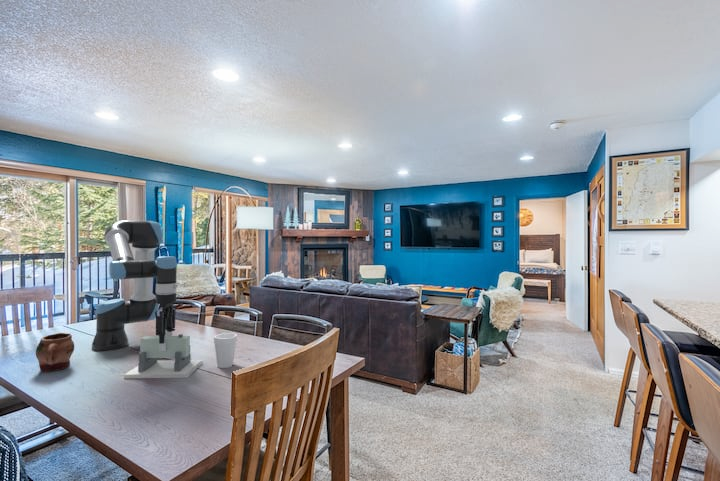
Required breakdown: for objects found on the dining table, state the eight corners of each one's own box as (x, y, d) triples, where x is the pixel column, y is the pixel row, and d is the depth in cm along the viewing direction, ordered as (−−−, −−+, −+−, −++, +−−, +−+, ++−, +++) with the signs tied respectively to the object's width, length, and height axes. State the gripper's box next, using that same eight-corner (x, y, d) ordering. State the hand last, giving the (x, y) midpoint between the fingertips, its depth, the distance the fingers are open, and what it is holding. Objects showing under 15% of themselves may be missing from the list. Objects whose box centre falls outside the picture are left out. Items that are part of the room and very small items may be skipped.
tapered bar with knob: (145, 355, 148) (145, 333, 148) (189, 354, 149) (189, 333, 149) (140, 358, 144) (140, 336, 144) (185, 357, 145) (186, 335, 145)
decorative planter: (72, 373, 142) (72, 339, 142) (31, 380, 135) (31, 344, 135) (75, 359, 158) (76, 328, 158) (39, 364, 151) (39, 332, 151)
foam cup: (241, 363, 156) (241, 334, 156) (226, 370, 147) (227, 339, 147) (223, 360, 159) (224, 332, 159) (208, 367, 150) (209, 337, 150)
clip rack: (146, 363, 154) (146, 343, 154) (202, 363, 155) (202, 343, 155) (124, 378, 138) (124, 355, 138) (186, 377, 139) (187, 355, 139)
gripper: (165, 296, 138) (164, 355, 138) (184, 290, 155) (183, 342, 155) (145, 296, 137) (145, 355, 138) (167, 290, 155) (166, 342, 155)
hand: (165, 348), depth 147 cm, fingers open, 4 cm apart
